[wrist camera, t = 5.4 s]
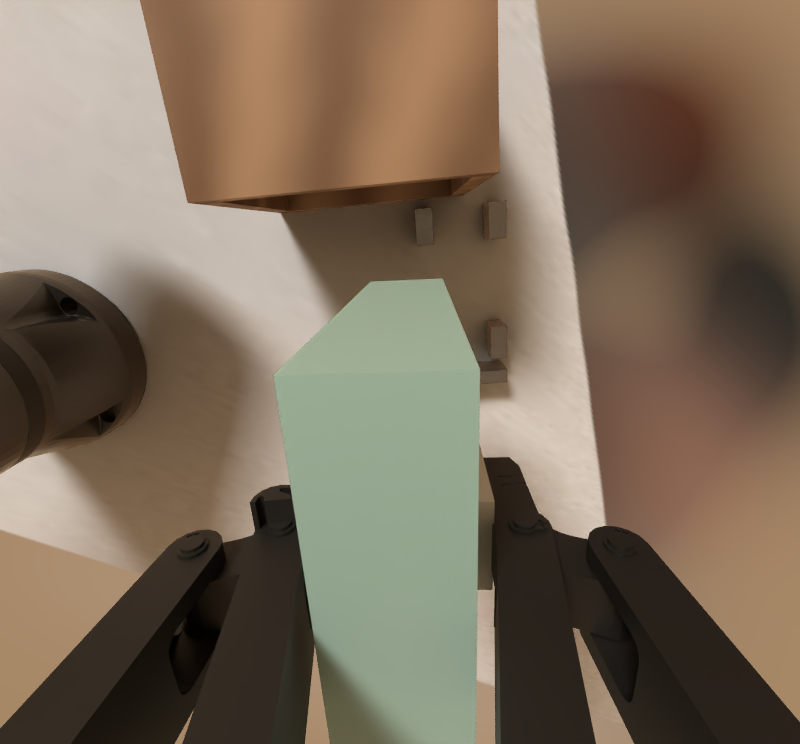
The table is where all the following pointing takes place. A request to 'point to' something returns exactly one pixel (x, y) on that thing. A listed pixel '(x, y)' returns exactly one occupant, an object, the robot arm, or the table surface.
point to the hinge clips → (494, 328)
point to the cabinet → (328, 99)
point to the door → (389, 512)
